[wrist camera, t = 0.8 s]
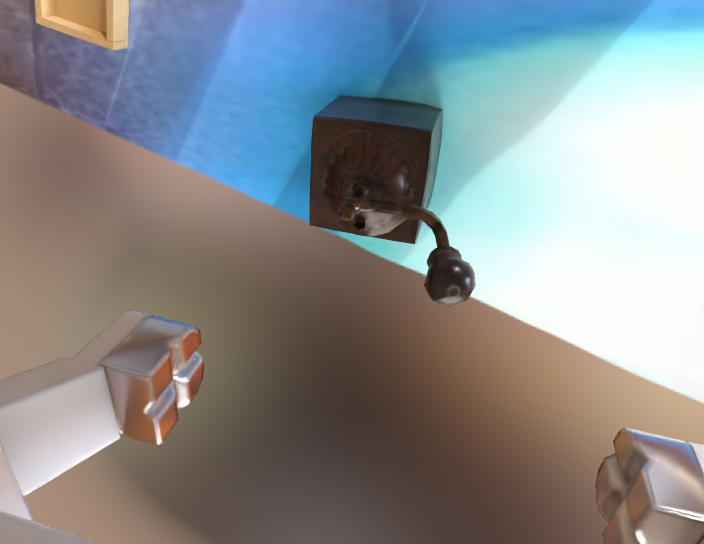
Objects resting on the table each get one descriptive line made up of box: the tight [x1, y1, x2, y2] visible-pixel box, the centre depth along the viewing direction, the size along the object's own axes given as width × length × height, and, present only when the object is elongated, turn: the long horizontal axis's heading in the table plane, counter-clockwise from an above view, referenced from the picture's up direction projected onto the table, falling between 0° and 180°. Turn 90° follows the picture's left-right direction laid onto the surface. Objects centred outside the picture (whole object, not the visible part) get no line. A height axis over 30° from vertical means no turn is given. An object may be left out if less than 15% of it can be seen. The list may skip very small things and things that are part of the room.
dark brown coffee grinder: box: [310, 95, 475, 306], centre depth 44 cm, size 16×11×18 cm
